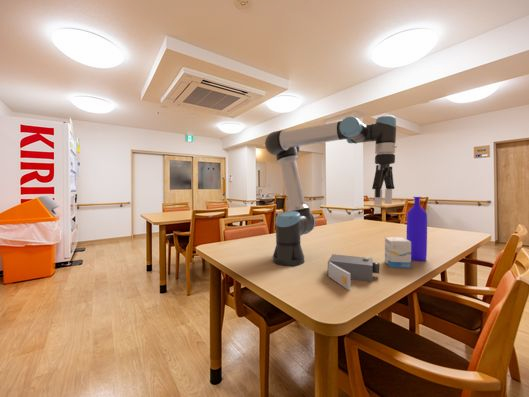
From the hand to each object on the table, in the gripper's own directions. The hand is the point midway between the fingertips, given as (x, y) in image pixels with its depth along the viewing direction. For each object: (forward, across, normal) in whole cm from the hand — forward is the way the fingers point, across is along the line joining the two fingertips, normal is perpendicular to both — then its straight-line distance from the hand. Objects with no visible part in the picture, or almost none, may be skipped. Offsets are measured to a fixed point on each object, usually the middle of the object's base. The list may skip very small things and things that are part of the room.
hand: (383, 204), depth 101 cm
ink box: (+28, +9, -4) cm, 29 cm away
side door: (+28, -27, +7) cm, 39 cm away
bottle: (+27, +24, -9) cm, 37 cm away
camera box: (+28, -16, +6) cm, 32 cm away
